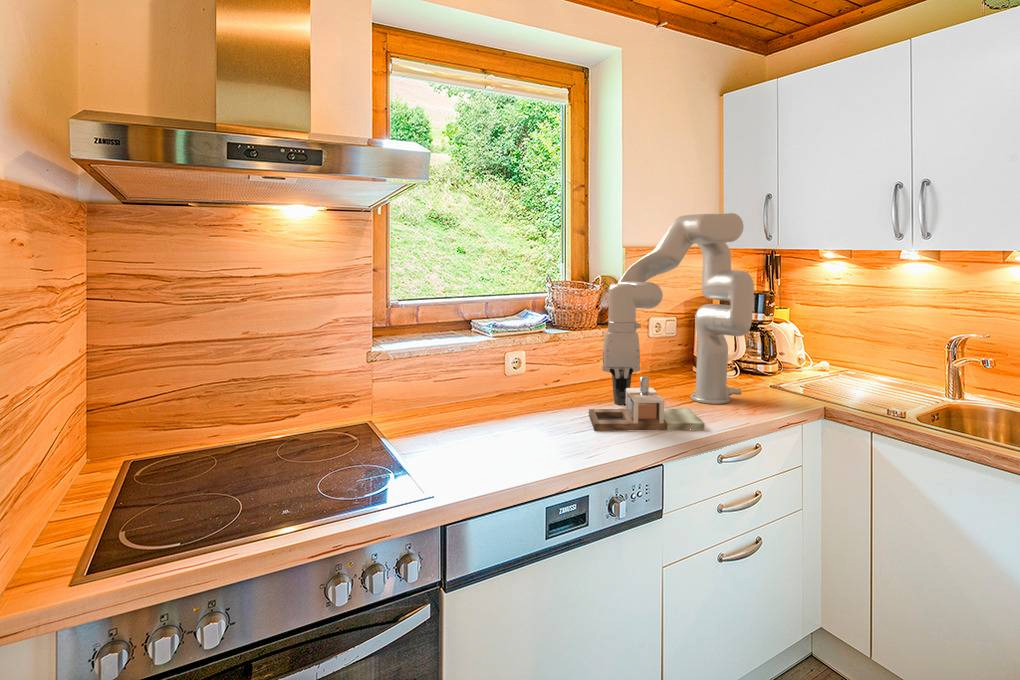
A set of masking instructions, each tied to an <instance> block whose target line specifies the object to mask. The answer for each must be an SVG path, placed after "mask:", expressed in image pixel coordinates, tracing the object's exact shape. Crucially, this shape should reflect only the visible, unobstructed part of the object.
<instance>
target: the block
mask: <svg viewBox="0 0 1020 680" xmlns="http://www.w3.org/2000/svg"><path fill="white" fill-rule="evenodd" d="M633 402H634V401H633ZM656 414H657V405H656V403H638V419H656Z"/></svg>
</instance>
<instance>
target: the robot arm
mask: <svg viewBox="0 0 1020 680" xmlns="http://www.w3.org/2000/svg"><path fill="white" fill-rule="evenodd" d="M743 232H744V221H743V219H742V218H741V217H740V215H738V214H737V213H733V212H728V213H699V214H698V213H697V214H687V215H686V214H685V215H680V216H678V217H677V218H674V220H673V221H672V223H671V224H670V225H669V227H668V228H667V229H666V232H665V233H664V234H663V236H662V237H661V238H660V240H659V242H658V243H657V244H656V246H655V247H654V249H652V251H650V252H648V253H647V254H645V255H644V256H642V257H641V258H640V259H638V260H637V261H636V262H634V263H632V265H631V266H629V267H628V269H626V270H625V272H624V274H623V275H622V277H621V278H620V279H619V280H618V283H613V284H611V285H610V286H609V288H608V314H607V315H608V319H607V320H608V325H607V327H608V328H607V329H608V330H607V331H605V333H604V337H603V347H602V368H601V370H602V371H603V372H605V373H612V374H613V375H614V376H615V388H616V389H617V390H618V392H621V391H622V392H625V389H626V388H627V378H628V376H629V375H630V374H631V373H632V374H633V373H637V372H640V371H641V365H640V364H641V346H640V338H639V333H638V332H637V330H638V329H641V328H642V325H641V324H642V323H639V322H637V321H636V318H637V317H636V316H637V309H649V310H650V309H653V308H656V307H657V306H659V305H660V303H661V302H662V300H663V296H664V295H663V290H662V288H661V286H659V285H658V284H657V283H654V282H650V281H648V280H650V279H652V278H653V277H657V276H658V275H662V274H665V273H668V272H670V271H672V270H675V269H676V268H678V267H679V265H680V264H681V262H682V261H683V259H685V256H686V255H687V253H688V251H689V250H690V248H691V247H692V246H693V245H695V244H696V245H697V246H698V247H699V249H700V251H701V255H702V271H701V272H702V273H701V274H702V275H701V277H702V278H701V292H702V296H704V298H706V299H708V300H716V301H726V302H727V301H728V302H730V304H729V305H728V304H720V303H706V304H704V305H703V304H702V306H699V308H698V309H697V311H696V312H695V315H694V323H695V328H696V339H697V343H696V344H697V345H696V369H695V370H696V372H695V373H696V374H695V375H696V377H695V392H692V393H691V394H690V399H691V400H692V401H694V402H697V403H701V404H702V403H703V404H710V405H721V404H727V403H730V402H731V401H732V397H731V396H732V395H736V396H737V395H742V393H743V391H742V389H741V388H735V387H729V386H728V385H727V382H728V381H727V380H728V379H727V378H728V361H729V358H728V357H729V345H728V341H727V339H726V337H725V336H730V337H743V336H745V335H747V334H748V333H749V331H750V329H751V327H752V321H753V311H754V296H755V285H754V284H755V283H754V280H753V278H752V276H751V274H750V273H748V272H746V271H745V270H737V269H736V270H735V269H734V270H732V252H731V249H730V248H729V245H728V244H727V243H732V242H735V241H737V240H738V239H739V238H740V237H741V236H742V234H743ZM619 368H623V373H622V376H620V375H619ZM612 374H611V375H612Z"/></svg>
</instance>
